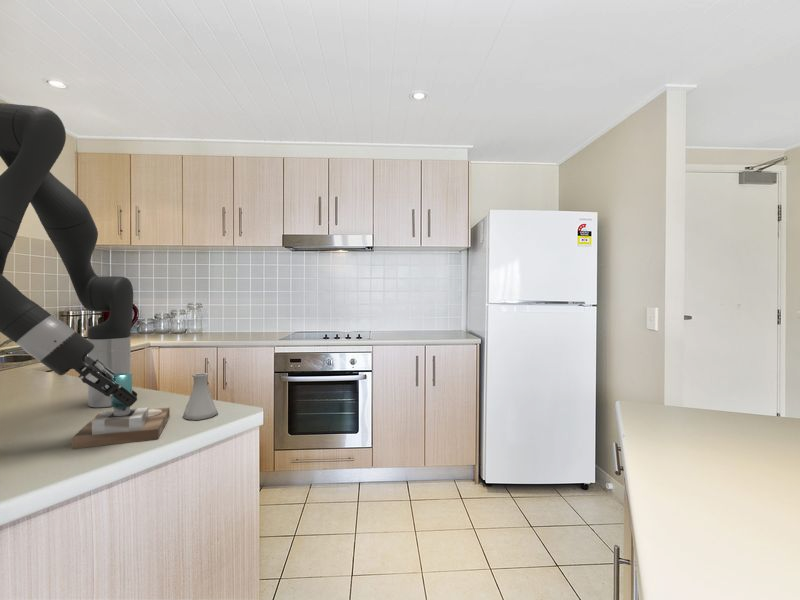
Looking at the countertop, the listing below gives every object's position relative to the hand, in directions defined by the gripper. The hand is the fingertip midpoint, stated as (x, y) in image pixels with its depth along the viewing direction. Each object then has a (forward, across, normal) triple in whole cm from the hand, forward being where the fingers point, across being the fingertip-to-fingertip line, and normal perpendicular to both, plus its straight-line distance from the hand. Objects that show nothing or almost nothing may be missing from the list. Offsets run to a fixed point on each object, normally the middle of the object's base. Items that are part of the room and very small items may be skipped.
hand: (133, 400), depth 85 cm
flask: (+14, +7, -4) cm, 17 cm away
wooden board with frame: (+4, +4, +6) cm, 8 cm away
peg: (+2, 0, +5) cm, 5 cm away
